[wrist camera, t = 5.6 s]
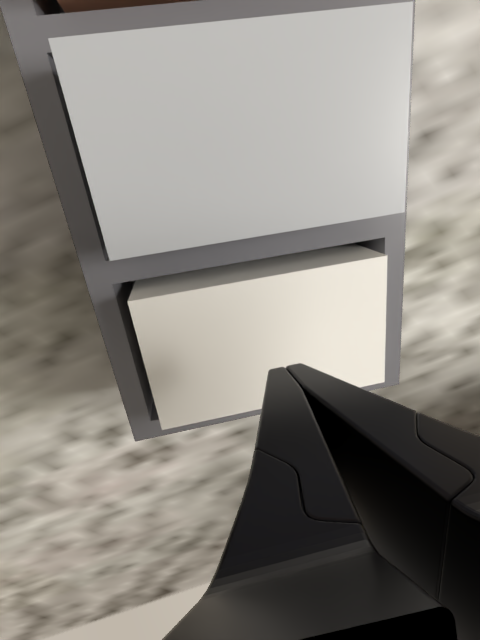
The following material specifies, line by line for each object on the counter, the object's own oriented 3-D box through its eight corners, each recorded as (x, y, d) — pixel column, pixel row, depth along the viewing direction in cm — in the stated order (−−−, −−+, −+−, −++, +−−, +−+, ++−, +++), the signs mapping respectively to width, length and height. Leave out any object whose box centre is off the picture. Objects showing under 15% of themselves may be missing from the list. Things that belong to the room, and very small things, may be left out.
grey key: (352, 204, 12) (404, 212, 9) (125, 241, 11) (109, 260, 9) (350, 48, 10) (413, 1, 8) (83, 78, 10) (47, 38, 7)
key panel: (351, 341, 17) (398, 383, 14) (144, 382, 16) (135, 441, 13) (343, -198, 11) (431, -396, 7) (-12, -183, 10) (-129, -409, 6)
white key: (346, 344, 15) (384, 382, 12) (164, 381, 14) (162, 430, 12) (343, 239, 13) (387, 255, 11) (137, 274, 13) (127, 301, 10)
